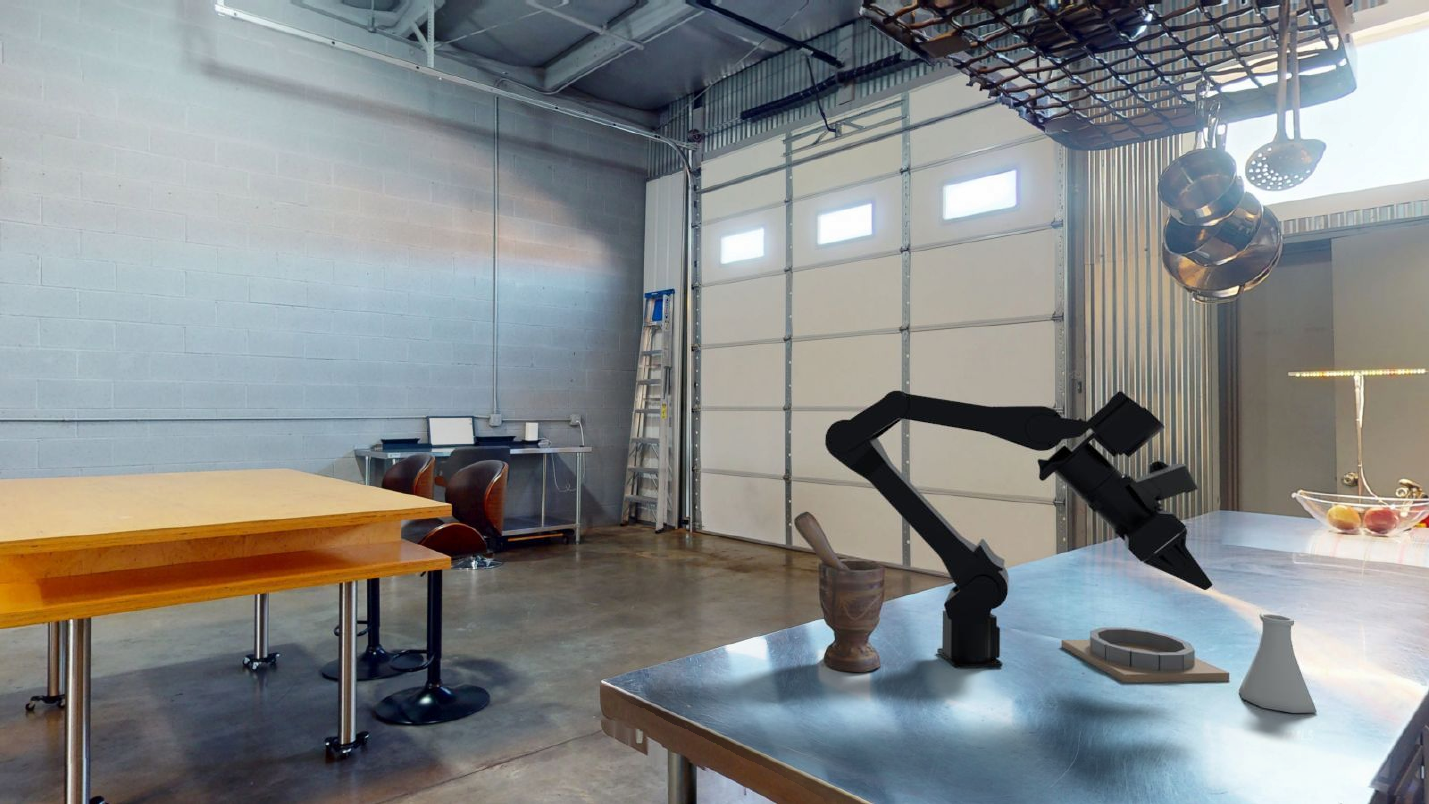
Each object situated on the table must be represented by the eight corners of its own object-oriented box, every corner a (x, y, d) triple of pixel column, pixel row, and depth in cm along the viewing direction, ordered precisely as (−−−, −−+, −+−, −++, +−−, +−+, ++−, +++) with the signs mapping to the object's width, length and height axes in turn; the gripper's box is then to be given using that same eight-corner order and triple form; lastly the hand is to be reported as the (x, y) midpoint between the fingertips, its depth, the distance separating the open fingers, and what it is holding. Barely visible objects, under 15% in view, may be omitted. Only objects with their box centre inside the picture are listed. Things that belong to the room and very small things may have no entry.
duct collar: (1124, 682, 92) (1124, 658, 92) (1061, 646, 106) (1061, 625, 106) (1229, 680, 93) (1229, 656, 93) (1153, 645, 107) (1153, 624, 107)
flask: (1331, 718, 82) (1331, 628, 82) (1257, 712, 83) (1257, 623, 83) (1294, 694, 89) (1294, 611, 89) (1226, 689, 90) (1227, 607, 90)
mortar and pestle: (817, 681, 90) (819, 518, 91) (785, 659, 98) (787, 509, 99) (896, 671, 95) (898, 515, 95) (859, 650, 103) (861, 507, 103)
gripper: (1163, 442, 83) (1283, 549, 78) (1139, 437, 100) (1236, 525, 95) (1084, 507, 86) (1195, 614, 81) (1074, 492, 103) (1165, 580, 98)
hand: (1200, 579), depth 89 cm, fingers open, 9 cm apart
